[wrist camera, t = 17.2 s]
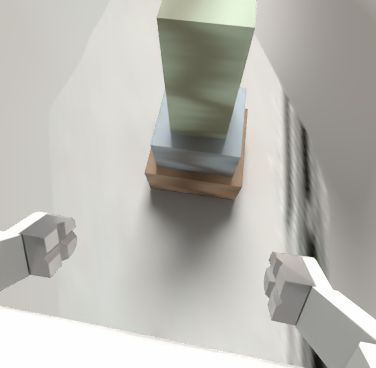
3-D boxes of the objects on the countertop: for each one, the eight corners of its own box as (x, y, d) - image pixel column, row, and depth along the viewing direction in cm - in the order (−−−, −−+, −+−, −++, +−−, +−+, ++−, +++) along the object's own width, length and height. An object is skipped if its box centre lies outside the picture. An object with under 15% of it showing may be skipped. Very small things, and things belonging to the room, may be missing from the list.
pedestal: (240, 129, 31) (256, 81, 23) (234, 200, 27) (251, 169, 20) (166, 120, 31) (160, 70, 24) (150, 187, 28) (136, 153, 20)
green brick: (230, 97, 23) (259, -29, 13) (225, 140, 21) (254, 27, 12) (180, 91, 23) (174, -36, 14) (170, 133, 21) (156, 17, 12)
